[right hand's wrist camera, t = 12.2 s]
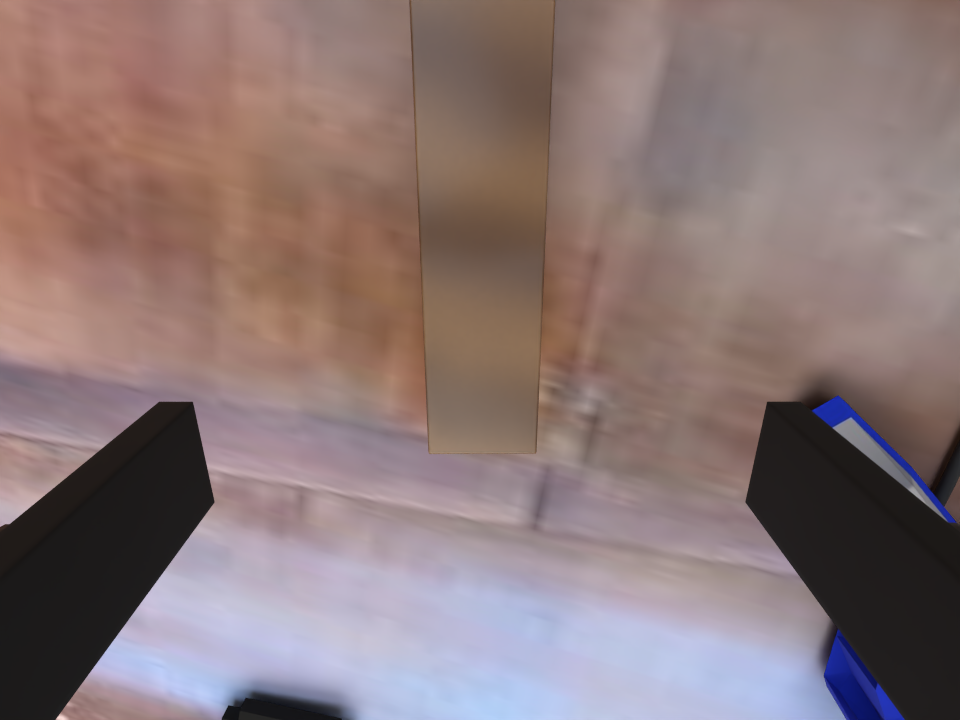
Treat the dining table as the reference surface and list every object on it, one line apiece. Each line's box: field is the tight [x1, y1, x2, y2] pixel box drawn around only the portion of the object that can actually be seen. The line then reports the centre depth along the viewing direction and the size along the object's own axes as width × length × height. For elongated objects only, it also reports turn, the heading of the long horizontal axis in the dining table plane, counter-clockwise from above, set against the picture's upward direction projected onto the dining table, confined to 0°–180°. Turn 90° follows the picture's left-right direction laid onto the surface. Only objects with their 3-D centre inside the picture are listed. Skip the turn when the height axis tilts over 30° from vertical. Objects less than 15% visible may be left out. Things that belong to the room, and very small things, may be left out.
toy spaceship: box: [812, 396, 956, 720], centre depth 34 cm, size 19×33×10 cm, turn 37°
